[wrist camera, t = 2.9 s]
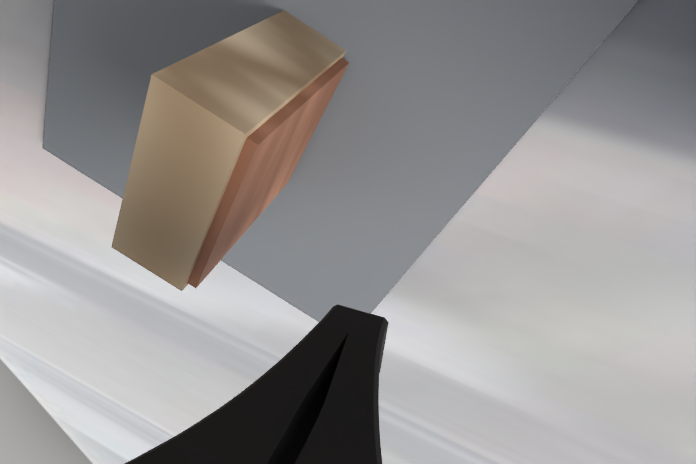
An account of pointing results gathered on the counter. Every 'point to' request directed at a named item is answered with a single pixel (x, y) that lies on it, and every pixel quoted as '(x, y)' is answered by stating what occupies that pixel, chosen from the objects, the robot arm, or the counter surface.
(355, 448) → the robot arm
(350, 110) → the mat
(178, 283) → the brown wooden block
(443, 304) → the counter surface
